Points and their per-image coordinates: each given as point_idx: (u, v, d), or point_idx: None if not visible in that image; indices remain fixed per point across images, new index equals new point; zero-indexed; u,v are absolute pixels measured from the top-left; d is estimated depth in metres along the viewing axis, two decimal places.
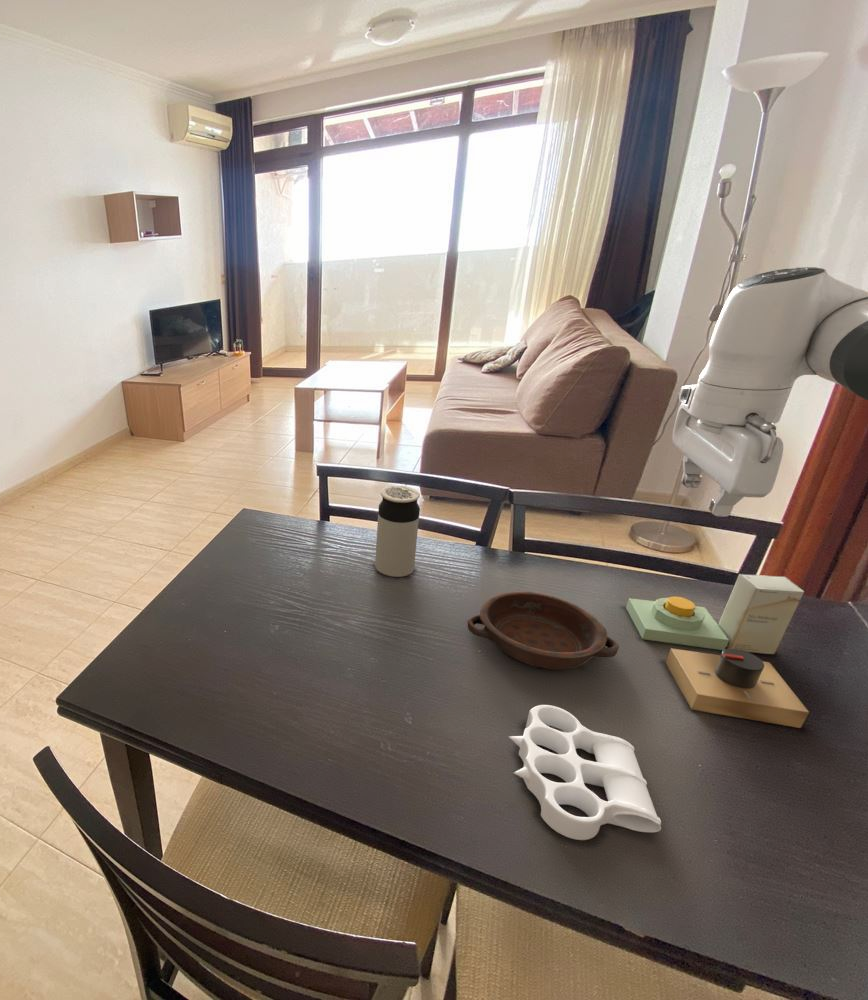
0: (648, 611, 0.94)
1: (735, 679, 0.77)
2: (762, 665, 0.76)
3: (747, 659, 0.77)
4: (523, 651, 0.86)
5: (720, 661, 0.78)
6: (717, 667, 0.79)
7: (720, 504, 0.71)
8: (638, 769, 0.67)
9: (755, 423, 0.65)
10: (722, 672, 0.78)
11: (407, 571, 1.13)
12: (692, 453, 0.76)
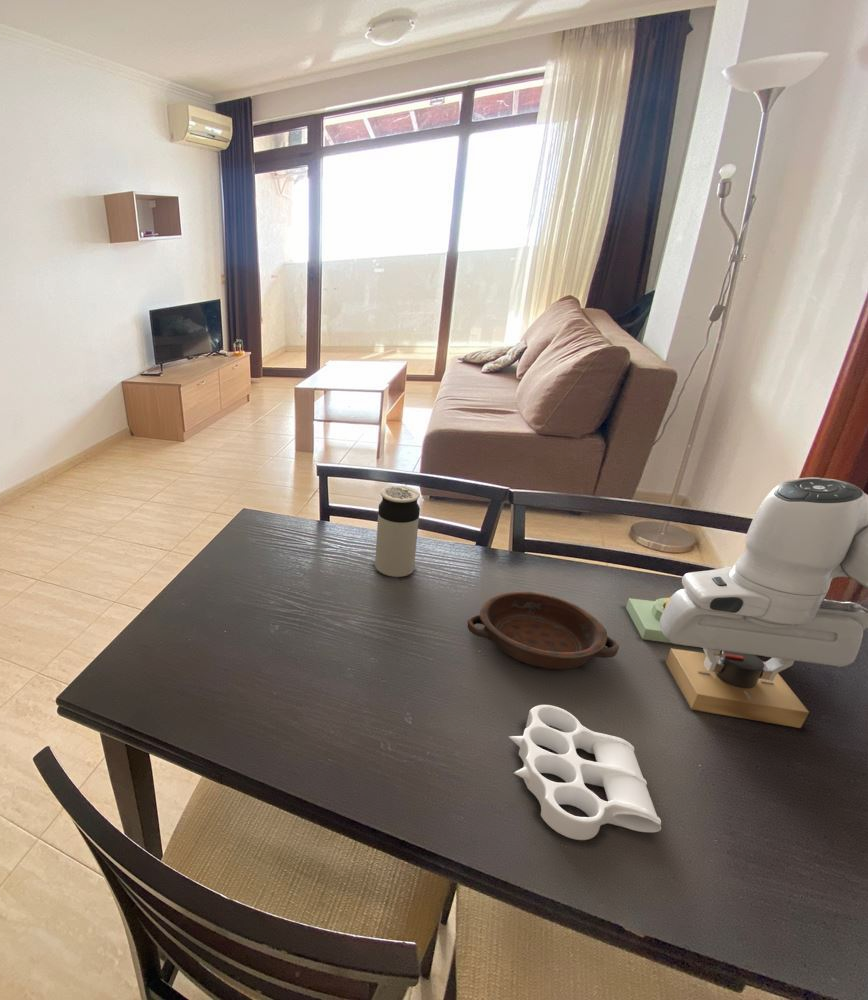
0: (648, 611, 0.94)
1: (735, 679, 0.77)
2: (762, 665, 0.76)
3: (747, 659, 0.77)
4: (523, 651, 0.86)
5: None
6: None
7: (776, 670, 0.76)
8: (638, 769, 0.67)
9: (837, 607, 0.70)
10: (722, 672, 0.78)
11: (407, 571, 1.13)
12: (734, 646, 0.75)
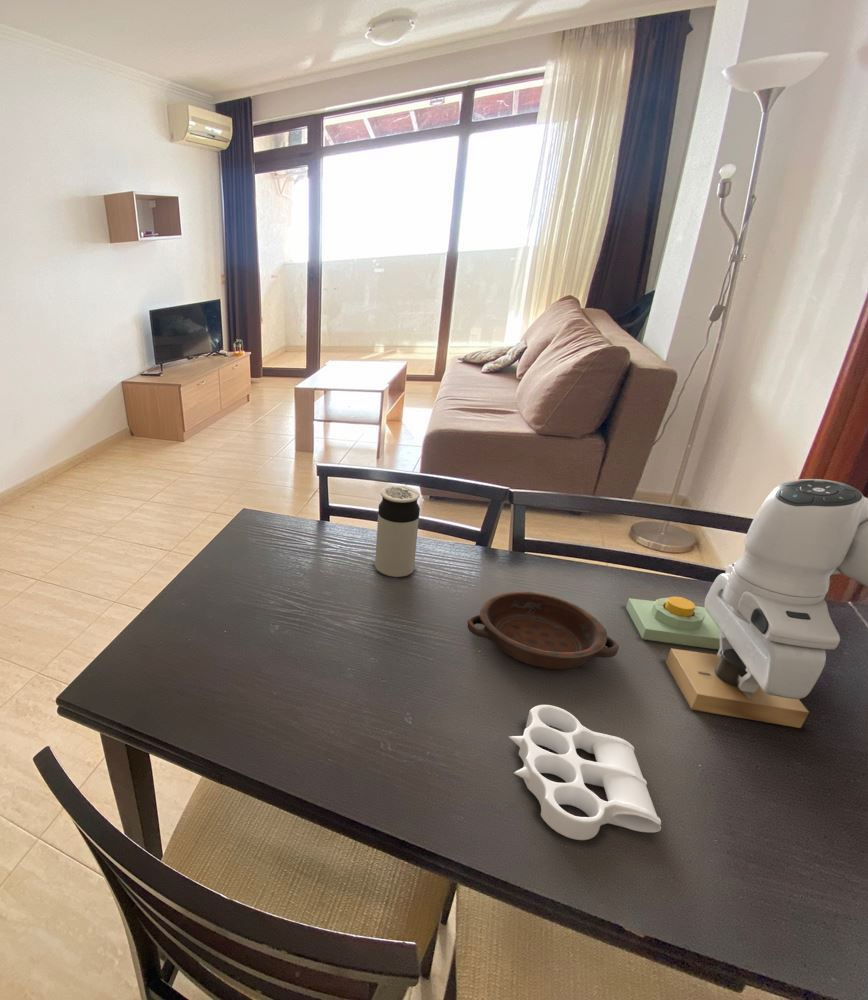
0: (648, 611, 0.94)
1: None
2: None
3: None
4: (523, 651, 0.86)
5: None
6: None
7: (731, 648, 0.80)
8: (638, 769, 0.67)
9: None
10: None
11: (407, 571, 1.13)
12: None
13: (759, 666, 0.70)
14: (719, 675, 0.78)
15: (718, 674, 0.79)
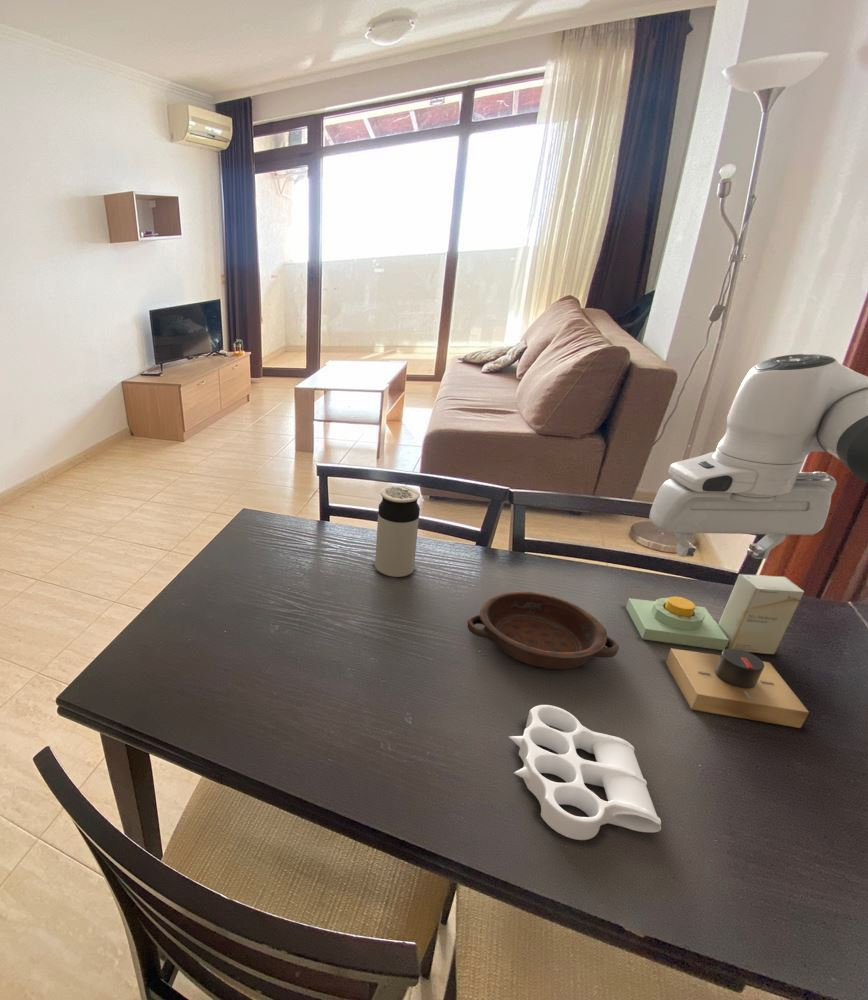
0: (648, 611, 0.94)
1: (758, 678, 0.76)
2: (745, 651, 0.78)
3: (741, 656, 0.77)
4: (523, 651, 0.86)
5: (745, 675, 0.76)
6: (741, 681, 0.76)
7: (769, 548, 0.80)
8: (638, 769, 0.67)
9: (808, 477, 0.75)
10: (751, 682, 0.76)
11: (407, 571, 1.13)
12: (721, 527, 0.78)
13: None
14: (719, 675, 0.78)
15: (718, 674, 0.79)
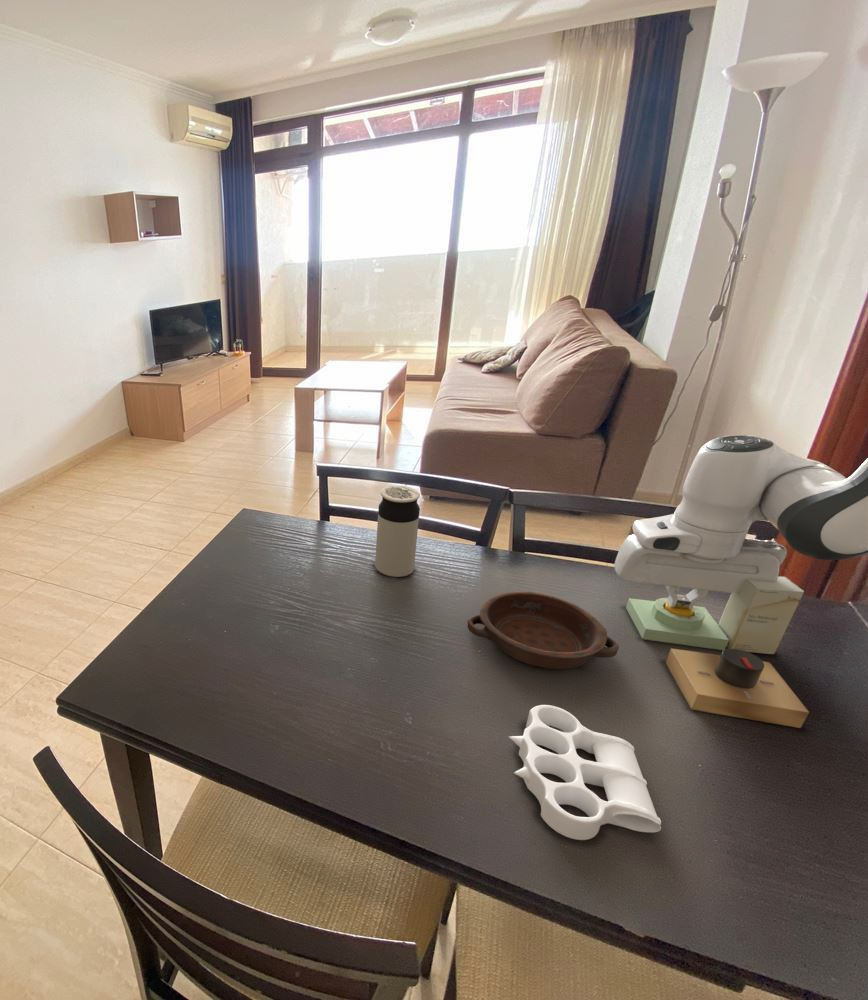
0: (648, 611, 0.94)
1: (758, 678, 0.76)
2: (745, 651, 0.78)
3: (741, 656, 0.77)
4: (523, 651, 0.86)
5: (745, 675, 0.76)
6: (741, 681, 0.76)
7: (694, 600, 0.89)
8: (638, 769, 0.67)
9: (758, 544, 0.83)
10: (751, 682, 0.76)
11: (407, 571, 1.13)
12: (675, 581, 0.88)
13: None
14: (719, 675, 0.78)
15: (718, 674, 0.79)
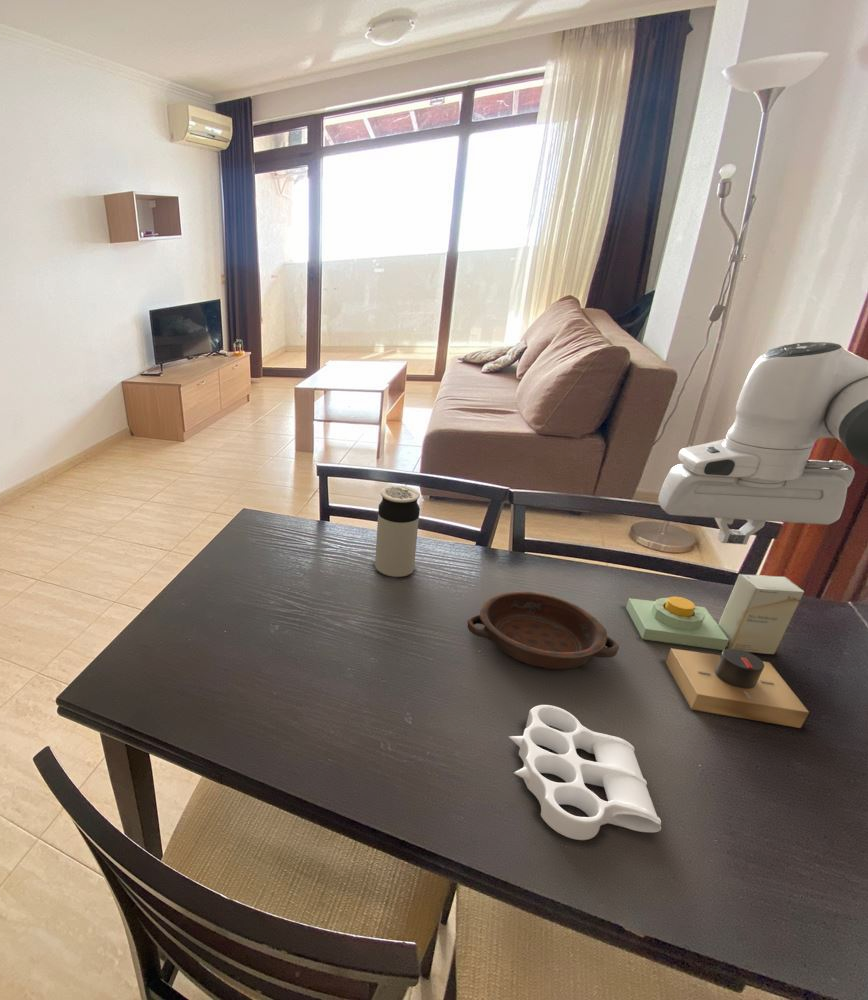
0: (648, 611, 0.94)
1: (758, 678, 0.76)
2: (745, 651, 0.78)
3: (741, 656, 0.77)
4: (523, 651, 0.86)
5: (745, 675, 0.76)
6: (741, 681, 0.76)
7: (749, 534, 0.82)
8: (638, 769, 0.67)
9: (822, 465, 0.75)
10: (751, 682, 0.76)
11: (407, 571, 1.13)
12: (728, 512, 0.80)
13: None
14: (719, 675, 0.78)
15: (718, 674, 0.79)
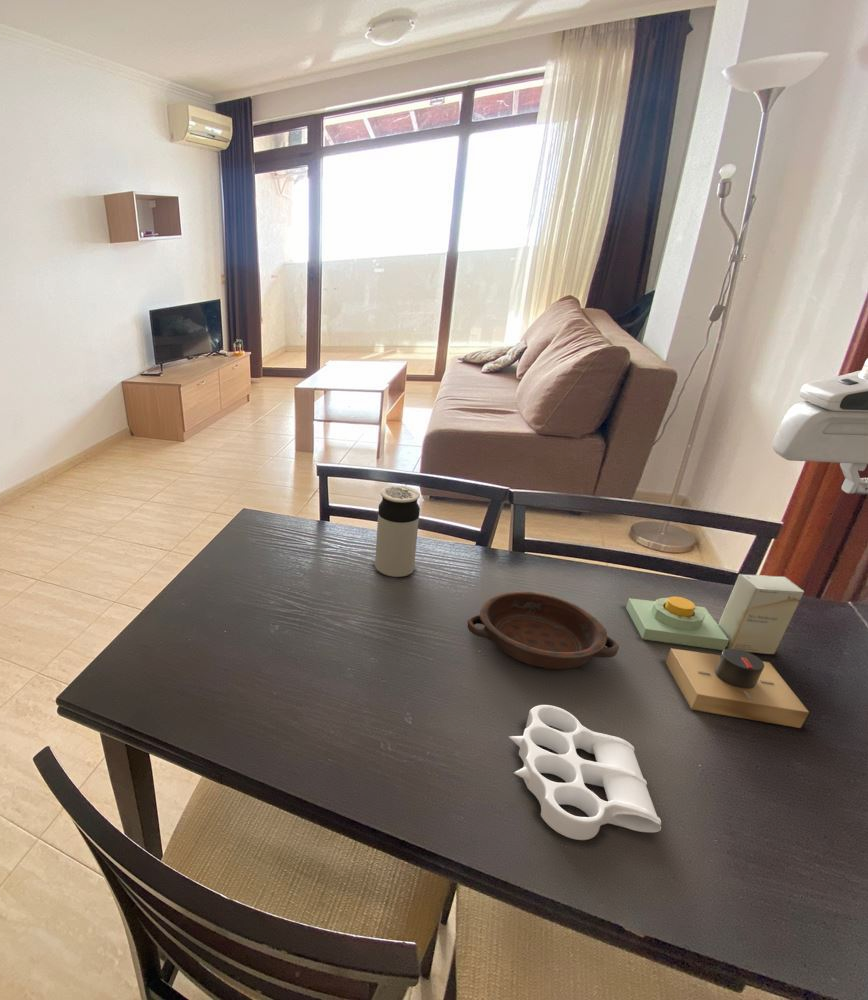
0: (648, 611, 0.94)
1: (758, 678, 0.76)
2: (745, 651, 0.78)
3: (741, 656, 0.77)
4: (523, 651, 0.86)
5: (745, 675, 0.76)
6: (741, 681, 0.76)
7: None
8: (638, 769, 0.67)
9: None
10: (751, 682, 0.76)
11: (407, 571, 1.13)
12: (862, 455, 0.69)
13: None
14: (719, 675, 0.78)
15: (718, 674, 0.79)
